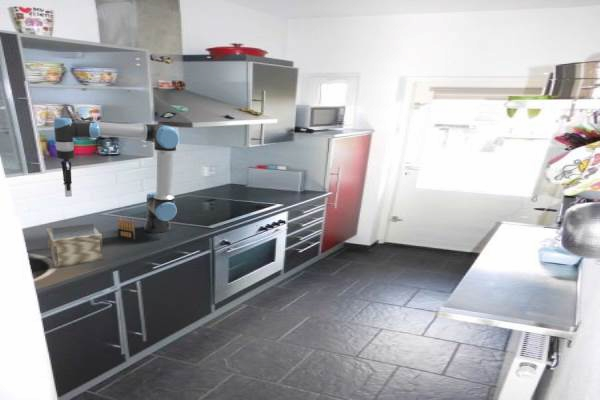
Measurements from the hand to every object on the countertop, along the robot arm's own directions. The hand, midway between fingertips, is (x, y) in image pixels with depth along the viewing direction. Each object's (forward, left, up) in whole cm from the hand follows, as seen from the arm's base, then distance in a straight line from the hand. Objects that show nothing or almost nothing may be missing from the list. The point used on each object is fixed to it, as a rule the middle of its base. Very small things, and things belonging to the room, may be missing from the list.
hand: (68, 196), depth 201 cm
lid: (0, +14, -17) cm, 22 cm away
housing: (0, +8, -28) cm, 30 cm away
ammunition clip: (-28, -4, -29) cm, 40 cm away
